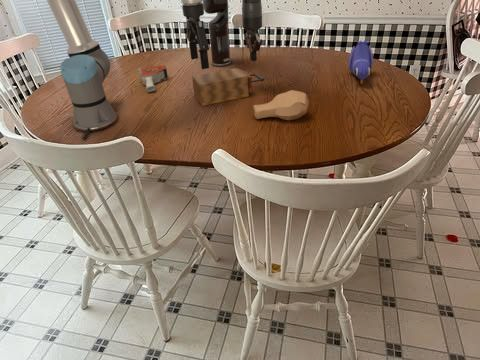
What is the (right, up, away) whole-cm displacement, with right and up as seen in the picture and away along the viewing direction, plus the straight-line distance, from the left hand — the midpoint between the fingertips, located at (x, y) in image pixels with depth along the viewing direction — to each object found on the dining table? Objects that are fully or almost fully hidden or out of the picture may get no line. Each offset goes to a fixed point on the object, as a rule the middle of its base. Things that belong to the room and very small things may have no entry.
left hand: (199, 63), depth 138 cm
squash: (+31, -22, -9) cm, 39 cm away
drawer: (+13, -8, +10) cm, 18 cm away
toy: (+68, -1, +17) cm, 70 cm away
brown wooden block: (+8, -10, +10) cm, 16 cm away
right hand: (+21, +3, +7) cm, 22 cm away
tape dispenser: (-25, -1, +26) cm, 36 cm away
